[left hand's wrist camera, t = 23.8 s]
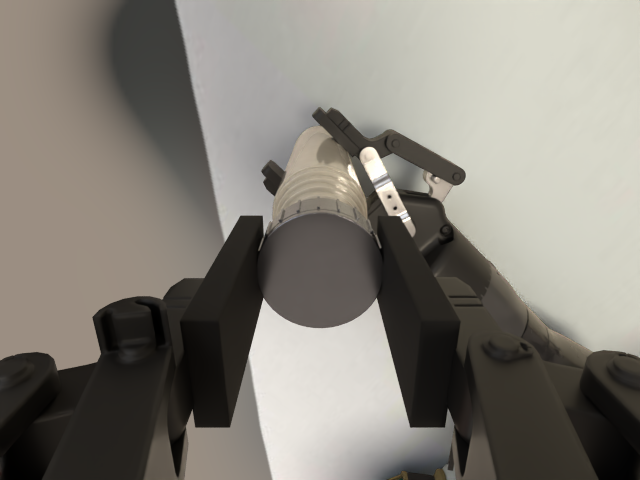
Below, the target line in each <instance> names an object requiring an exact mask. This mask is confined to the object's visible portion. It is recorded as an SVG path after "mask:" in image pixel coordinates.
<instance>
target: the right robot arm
mask: <svg viewBox="0 0 640 480" xmlns="http://www.w3.org/2000/svg"><path fill="white" fill-rule="evenodd" d="M312 116H313V118H314V119H315V120H316V121H317V122H318V123H319V124H320V125H321V126H322V127H323V128H324V129H325V130H326V131H327V132H328V133H329V134H330V135H331V136H332V137H333V138H334V139H335V140H336V141H337V142H338V143H339V144H340V145H341V146H342V147H343V148H344V149H345V150H346V151H347V152H348V153H349V154H350V155H351V156H352V157H353V156H354V155H356V156H357V157H358V158H359V159H360V161H361V162H362V164H363V166H364V168H365V170H366V172H367V174H368V176H369V178H370V180H371V182H372V184H373V186H374V188H375V191H374V192H373V193H372V194H371V195H370V196H369V197H368V198H367V200H366V203H367V216H368V217H367V220H368V219H369V220H370V223H371V226H372V229H373V231H374V233H375V235H377V220H378V216H400V217H401V219H402V221H403V222H404V224H405V226H406V228H407V229H408V231H409V233H410V234H411V236H412V238H413V240H414V241H415V243H416V245H417V247H418V248H419V250H420V252H421V253H422V255H423V257H424V259H425V260H426V262H427V264H428V266H429V267H430V269H431V271H432V272H433V274H434V276H435V277H457V278H458V279H460V280H461V281H463V282H465V283H466V284H468V285H469V286H470V287H471V288H472V290H473V291H474V292H475V294H476V295H477V298H479V299H480V301H481V302H482V303H483V307H485V308H486V309H487V310H488V312H489V313H490V315H491V316H492V317H493V319H494V320H495V321H496V323H497V324H498V326H499V327H500V328H501V330H502V331H503V332H507V333H511V334H513V335H516V336H518V337H520V338H523V339H524V340H525V341H527V342H528V343H530V344H531V345H533V347H534V348H535V349H536V350H537V352H538V353H539V355H540V357H541V359H542V360H544V361H547V362H551V363H556V364H561V365H566V366H571V367H576V368H581V369H584V366H585V362H586V359H587V357H588V356H589V355H590V354H591V353H593V352H592V351H590V350H589V349H587V348H585V347H583V346H581V345H580V344H578V343H576V342H574V341H572V340H571V339H569V338H567V337H565V336H564V335H561V334H559V333H557V332H555V331H553V330H551V329H549V328H548V327H547V326H546V325H545V324H544V323H543V322H542V321H541V320H540V319H539V318H538V317H537V315H536V314H535V313H534V312H533V311H532V310H531V309H530V308H529V307H528V306H527V305H526V304H525V303H524V302H523V301H522V300H521V299H520V298H519V296H518V295H517V294H516V292H515V291H514V289H513V288H512V286H511V285H510V284H509V283H508V281H507V280H506V279H505V278H504V277H503V276H502V275H501V274H500V273H499V272H498V271H497V270H496V268H495V267H494V265H493V264H492V263H491V262H490V261H488V260H487V259H486V258H485V257H484V256H483V255H482V254H481V253H480V252H479V251H478V250H477V249H476V248H475V247H474V246H473V245H472V244H471V243H470V242H469V241H468V240H467V239H466V238H465V237H464V236H463V235H462V234H461V232H460V231H459V230H458V229H457V228H456V227H455V226H454V225H453V224H452V223H451V222H450V221H449V220H448V219H447V217H446V214H445V209H444V206H443V204H442V202H443V200H444V199H445V197H446V196H447V194H448V192H449V191H450V189H451V188H452V186H453V185H459V184H461V183H462V182H463V181H464V180H465V176H466V175H465V171H464V170H463V169H461V168H460V167H458V166H457V165H455V164H454V163H452V162H450V161H449V160H447V159H445V158H443V157H441V156H439V155H438V154H436V153H434V152H432V151H430V150H429V149H427V148H425V147H423V146H421V145H419V144H418V143H416V142H414V141H412V140H410V139H409V138H407V137H405V136H403V135H401V134H400V133H398V132H396V131H394V130H386V131H385V132H384V133H383V134H381V135H379V136H377V137H375V138H366V137H364V136H363V135H362V134H361V133H360V132H359V131H358V130H357V129H356V128H355V127H354V126H353V125H352V124H351V123H350V122H349V121H348V120H347V119H346V118H345V117H344V116H343V115H342V114H341V113H340V112H339V111H338V110H336V109H333V108H330V109H329V110H328V111H327V112H325V111H324V110H323V109H322V108H321V107H319V108H318V109H317V110H316V111H315V112H314V113H313V114H312ZM391 153H394V154H396V155H398V156H400V157H402V158H404V159H405V160H407V161H409V162H411V163H413V164H415V165H417V166H418V167H420V168H422V169H424V172H423V179H424V181H425V182H426V183H427V184H428V185H429V188H430V189H429V193H421V192H414V191H407V190H400V189H395V187H394V184H393V182H392V180H391V179H390V177H389V175H388V173H387V171H386V169H385V167H384V165H383V163H382V161H381V158H383V157H385V156H387V155H389V154H391ZM261 172H262V173H263V175H264V176H265V177H266V178H265V180H264V182H263V183H264V185H265V187H266V189H267V190H268V191H269V192H270V193H271V194H273V195H274V196H275V195H276V193H277V190H278V187H279V185H280V182H281V180H282V177H283V174H284V172H285V171H283V170H282V169H281V168H280V167H279V166H278V165H277V164H276V163H275V162H273V161H272V160H270V161H269V162H268V163H267V164H266V165H265V166H264V168H263V169H262V171H261Z"/></svg>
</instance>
